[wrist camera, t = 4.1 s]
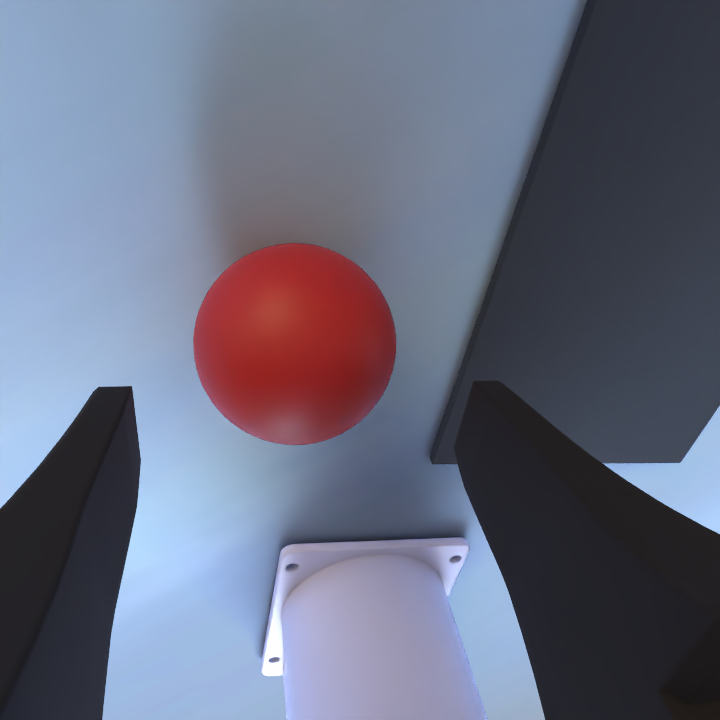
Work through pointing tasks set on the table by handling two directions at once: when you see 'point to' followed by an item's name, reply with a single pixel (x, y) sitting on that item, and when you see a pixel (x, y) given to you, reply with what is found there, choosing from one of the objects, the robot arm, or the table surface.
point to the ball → (294, 344)
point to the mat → (615, 244)
